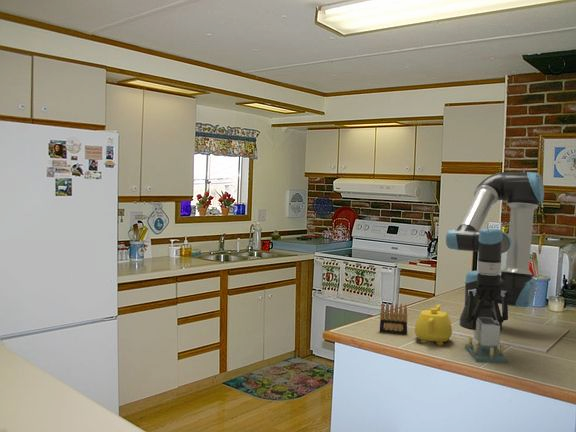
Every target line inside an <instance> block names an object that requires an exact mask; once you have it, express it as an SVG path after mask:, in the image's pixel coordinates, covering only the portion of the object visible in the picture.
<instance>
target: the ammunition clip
mask: <svg viewBox="0 0 576 432" xmlns="http://www.w3.org/2000/svg"><path fill="white" fill-rule="evenodd" d="M385 304H386V305H385ZM389 305H390V306H389ZM380 308H381V309H380V315H379V316H380V317H379V318H380V320H379V321H380V322H379V333H382V332H383V334H394V335H395V334H396V335H404V336H406V335H408V306H407V304H406V303H405V304H404V307H403V304H402V303H400V304H399V306H398V303H395V306H394V303H393V302H391V304H389V302H386V303H384V302H383V301H382V302H381V306H380ZM389 308H390V309H389Z"/></svg>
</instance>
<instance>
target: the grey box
mask: <svg viewBox="0 0 576 432" xmlns="http://www.w3.org/2000/svg"><path fill="white" fill-rule="evenodd" d="M477 320H478V321H479V330H478V340H476V341H477V342H479V343H480V345H487V346H497V347H500V333H501V331H500V325H499V324H498V323H497V322H496V321H495V320H494V319H493V318H489V317H478V318H477Z"/></svg>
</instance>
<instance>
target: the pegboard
mask: <svg viewBox="0 0 576 432" xmlns="http://www.w3.org/2000/svg"><path fill="white" fill-rule="evenodd" d="M477 342H478V341H477ZM464 348H465V350H466V352H468V353H469V355H470V356H471V357H472V359H473V360H474V361H475V362H477V363H478V362H479V363H483V362H484V363H503V364H504V363H506V364H509V359H508V358H507V357H506V355H505V354H504V351H505V349H504V348H505V345H504V344H499V349H498V346H487V345H480V343H479V342H478V343H473V337H468V344H467V343H465V344H464Z"/></svg>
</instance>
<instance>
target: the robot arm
mask: <svg viewBox="0 0 576 432" xmlns="http://www.w3.org/2000/svg"><path fill="white" fill-rule="evenodd" d="M473 196H474V197H473V199H472V201H471V203H470V204H469V207H468V209H467V210H466V212H465V214H464V216H463V218H462V220H461V221H460V223H459V225H458V227H457V228H453V229H451V228H450V229H449V230H447V233H446V236H445V244H446V247H447V248H448V249H451V250H456V251H466V252H469V251H470V252H477V253H478V255H477V270H470V271H468V272H467V273H466V275H465V282H464V284H465V289H464V305H463V309H462V312H461V313H460V317H459V325H460V326H461V325H462V326H461V327H463V326H464V327H463V328H466V327H467V328H466V329H470V328H472V329H471V330H473V339H474V340H475V341H477V340H478V330H479V321H478V320H477V318H478V317H489V318H493V319H494V320H495V321H496V322H497V323H498V324H499V325H500V332H501V331H502V330H503V323H504V321H508V320H509V311H508V310H509V306H511V307H512V306H513V307H516V308H518V307H519V308H528V307H530V306H531V305H532V303H533V301H534V299H535V295H536V292H537V279H535V278H533V273H532V272H531V271H530V269H529V268H530V257H531V247H532V238H533V237H532V235H533V227H534V226H533V223H534V214H535V210H536V209H537V208H538V207H539V203H542V202H544V198H545V187H544V181H543V177H542V175H541V174H540V173H538V172H532V171H525V172H524V171H520V172H519V171H518V172H517V171H516V172H514V171H513V172H512V171H511V172H510V171H509V172H508V171H501V172H500V171H499V172H496V173H494V174H491V175H489V176H488V177H486V178H484V179H483V180H482V181H481V182H480V183H479V184H478V185H477V186H476V188H475V190H474V191H473ZM498 201H507V206H508V207H509V208H510V215H509V223H508V224H509V225H508V226H509V227H508V233H506V232H504V231H502V229H499V228H482V227H483V224H484V222H485V220H486V218H487V216H488V214H489V212H490V210H491V208H492V206H494V205H496V203H497V202H498ZM504 253H506V259H505V267H504V268H503V269H502V268H501V267H502V254H504ZM499 305H501V309H500V306H499Z"/></svg>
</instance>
